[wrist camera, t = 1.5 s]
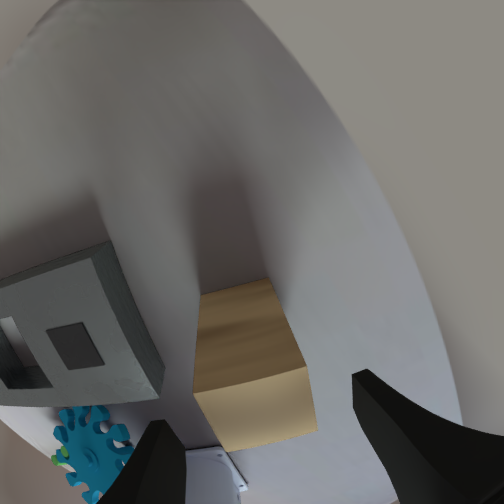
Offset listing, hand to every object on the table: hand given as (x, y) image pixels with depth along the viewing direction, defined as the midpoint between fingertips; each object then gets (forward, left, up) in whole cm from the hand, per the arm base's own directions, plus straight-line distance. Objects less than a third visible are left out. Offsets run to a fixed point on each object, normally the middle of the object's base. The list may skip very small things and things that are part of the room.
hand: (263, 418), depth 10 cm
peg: (0, 0, -8) cm, 8 cm away
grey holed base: (+2, +16, -8) cm, 18 cm away
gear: (-8, +15, -8) cm, 19 cm away
